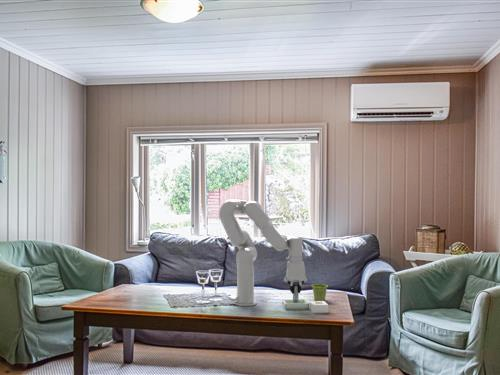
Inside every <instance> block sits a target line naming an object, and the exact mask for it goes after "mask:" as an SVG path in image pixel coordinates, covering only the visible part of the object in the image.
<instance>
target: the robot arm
mask: <svg viewBox="0 0 500 375" xmlns="http://www.w3.org/2000/svg"><path fill="white" fill-rule="evenodd" d="M218 213H219V220H220V222H221V224H222V226H223V228H224V231H225V233H226V235H227V238H228V240H229V241H230V244H231V245H232V246H233V247H235V248H238V251H237V253H236V256H235V261H236V277H237V278H236V280H237V282H236V284H237V285H236V289H237V290H236V295H234V296H228V300H229V301H234V305H236V306H240V307H251V306H255V305H257V300H255V267H254V261H255V260H256V259H257V256H258V250H257V249H256V246H255V244H254V242H253V240H252V238H251V236H250V234H249V233H248V231H246V230H244V229H242V228H241V227H240V224H239V222H238V220H237V219H236V217H235V215H242V216H243V215H244V216H247V217H248V218H249V219H250V220H251V221H252V223H253V224H254V226H256V227H257V228H258V230H259V232H260V233H261V234H262V235H263V236H264V238H265V239H266V241H267V242H268V243H269V244H270V245H271V246H272V248H274V249H275V250H276V251H279V252H283V251H285V250H288V256H286V257H285V259H286V260H287V263H286V271H285V277H284V278H283V281H284V282H285V283H287V284H288V285H289V287H290V288H289V291H290V292H291V294H292V295H293V293H294V286H293V281H298V282H299V284H298V294H301V292H302V285H303V284H304V283H306V282H308V278H307V277H306V266H305V261H303V238H302V237H301V236H285V235H281V234H280V233H279V232H278V231H277V229H276V228H275V227H274V224H273V222H272V219H271V218H270V217H269V216H268V215H267V213H266V212H265V211H264V210H263V209H262V205H261V204H260V202H258V201H255V200H242V199H228V200H226V201H225V202H223V204H221V207H220V208H219V212H218Z"/></svg>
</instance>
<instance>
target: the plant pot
mask: <svg viewBox="0 0 500 375" xmlns="http://www.w3.org/2000/svg"><path fill="white" fill-rule="evenodd" d="M311 287H312V291H313V292H312V293H313V298H314V300H313V301H325V302H326V297H327V296H326V295H327V289H328V285H327V284H324V283H314V284H311Z"/></svg>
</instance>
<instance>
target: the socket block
mask: <svg viewBox="0 0 500 375" xmlns="http://www.w3.org/2000/svg"><path fill="white" fill-rule="evenodd" d="M309 310H310V311H311V312H312V313H314V314H321V313H322V314H323V313H324V314H325V313H329V304H328V303H327V302H326V300H325V301H316V300H313V301H312V300H310V301H309Z"/></svg>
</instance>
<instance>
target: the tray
mask: <svg viewBox="0 0 500 375" xmlns="http://www.w3.org/2000/svg"><path fill="white" fill-rule="evenodd" d="M281 305H282V307H283V308H284V310H285V311H289V310H291V311H294V310H295V311H296V310H310V302H309V301H308V300H307V299H305V298H300V299H299V298H298V303H294V302H293V298H291V299H282V303H281Z"/></svg>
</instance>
